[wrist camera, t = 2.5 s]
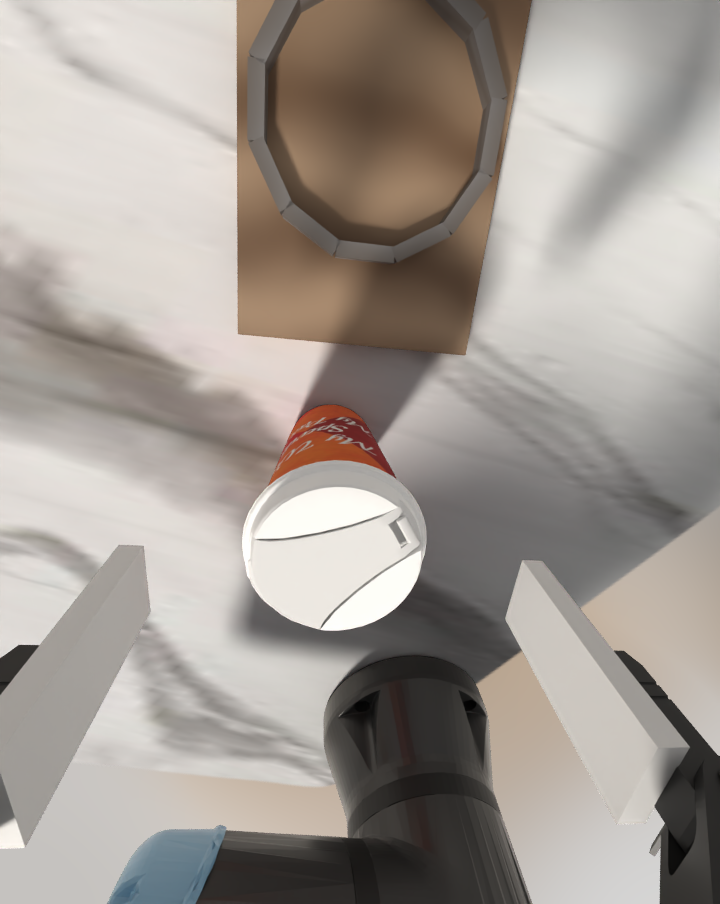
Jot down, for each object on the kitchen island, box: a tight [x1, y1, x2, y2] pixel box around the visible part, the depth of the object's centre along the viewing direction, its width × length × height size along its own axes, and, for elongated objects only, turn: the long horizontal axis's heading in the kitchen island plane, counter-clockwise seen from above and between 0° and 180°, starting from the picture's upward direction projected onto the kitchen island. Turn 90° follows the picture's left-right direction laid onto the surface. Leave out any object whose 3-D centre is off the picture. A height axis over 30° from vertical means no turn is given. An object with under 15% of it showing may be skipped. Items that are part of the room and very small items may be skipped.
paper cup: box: [242, 405, 427, 631], centre depth 23 cm, size 8×8×14 cm
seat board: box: [237, 0, 532, 355], centre depth 22 cm, size 22×14×3 cm, turn 174°
